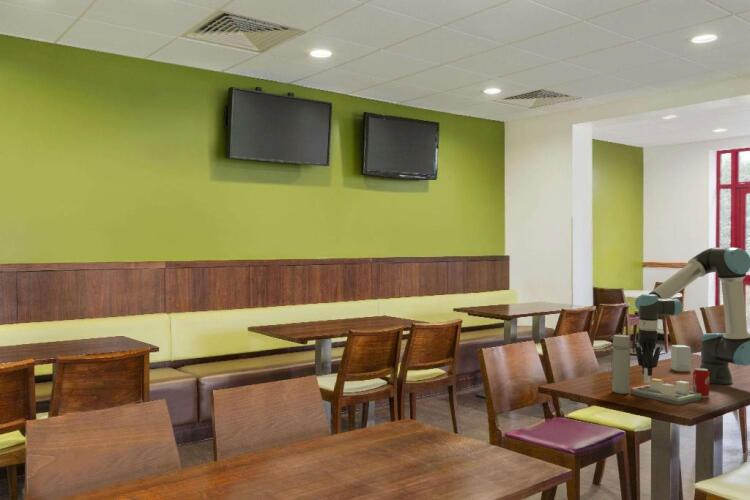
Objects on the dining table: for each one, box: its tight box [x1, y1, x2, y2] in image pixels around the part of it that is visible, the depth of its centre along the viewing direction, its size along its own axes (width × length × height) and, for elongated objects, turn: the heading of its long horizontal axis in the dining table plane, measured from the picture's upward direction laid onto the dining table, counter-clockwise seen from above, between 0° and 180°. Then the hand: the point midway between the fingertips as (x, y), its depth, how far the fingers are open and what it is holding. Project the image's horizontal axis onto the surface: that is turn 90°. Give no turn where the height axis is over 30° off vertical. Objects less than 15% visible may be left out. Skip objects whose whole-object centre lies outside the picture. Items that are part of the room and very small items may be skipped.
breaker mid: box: [649, 378, 664, 391], centre depth 283 cm, size 4×4×5 cm
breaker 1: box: [661, 383, 676, 397], centre depth 273 cm, size 4×4×5 cm
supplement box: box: [670, 344, 692, 372], centre depth 339 cm, size 7×7×13 cm
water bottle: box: [607, 334, 631, 395], centre depth 287 cm, size 9×8×25 cm
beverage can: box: [692, 367, 710, 399], centre depth 280 cm, size 6×6×12 cm
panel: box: [630, 384, 702, 406], centre depth 280 cm, size 17×22×2 cm
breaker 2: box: [675, 380, 691, 394], centre depth 279 cm, size 4×4×5 cm
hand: (647, 382), depth 287 cm, fingers closed
